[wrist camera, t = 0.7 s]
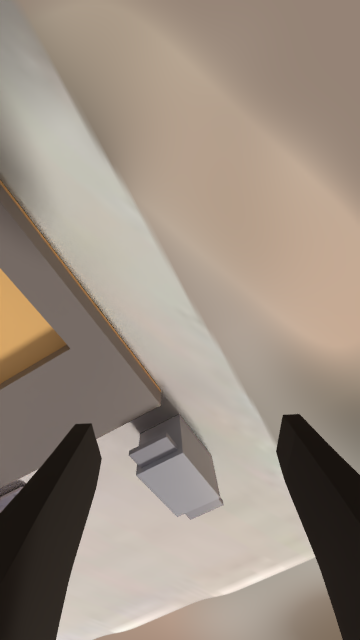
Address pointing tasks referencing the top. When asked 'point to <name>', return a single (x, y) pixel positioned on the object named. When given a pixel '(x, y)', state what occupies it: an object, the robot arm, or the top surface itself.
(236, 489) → the top surface
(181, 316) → the top surface
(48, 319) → the plate
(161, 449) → the block
